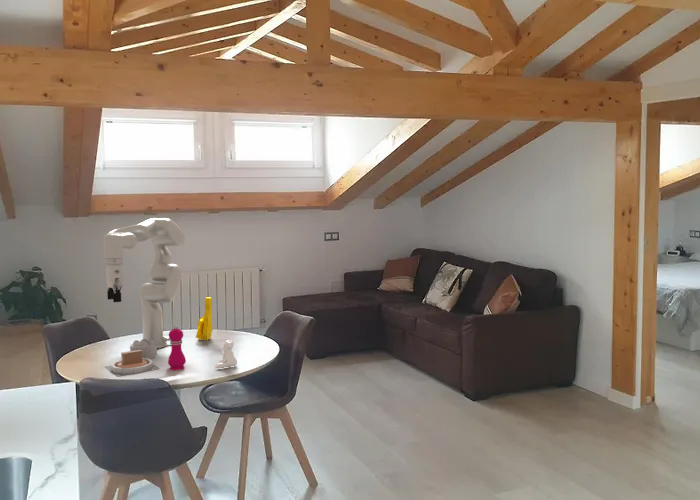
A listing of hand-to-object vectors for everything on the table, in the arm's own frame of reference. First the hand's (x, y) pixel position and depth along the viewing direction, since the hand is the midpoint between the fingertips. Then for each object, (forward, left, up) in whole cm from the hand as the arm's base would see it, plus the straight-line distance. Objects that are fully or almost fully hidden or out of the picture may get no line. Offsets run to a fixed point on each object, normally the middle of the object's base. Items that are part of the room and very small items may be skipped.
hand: (114, 300), depth 275 cm
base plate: (-2, +16, -28) cm, 33 cm away
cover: (-2, +16, -27) cm, 31 cm away
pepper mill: (-17, +28, -29) cm, 43 cm away
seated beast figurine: (-37, +35, -29) cm, 58 cm away
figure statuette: (-50, -16, -29) cm, 60 cm away
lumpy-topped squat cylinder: (-13, 0, -29) cm, 31 cm away
